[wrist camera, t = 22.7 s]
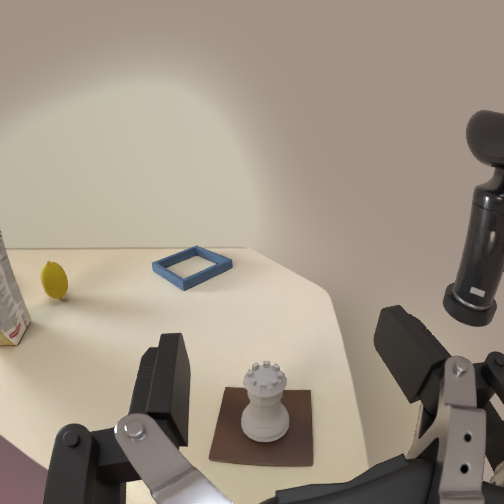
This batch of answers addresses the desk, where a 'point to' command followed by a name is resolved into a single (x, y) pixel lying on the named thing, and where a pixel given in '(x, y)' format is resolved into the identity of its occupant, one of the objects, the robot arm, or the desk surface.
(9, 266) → the juice carton
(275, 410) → the rook chess piece
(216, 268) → the blue tray
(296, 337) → the desk surface
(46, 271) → the lemon
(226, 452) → the walnut coaster
